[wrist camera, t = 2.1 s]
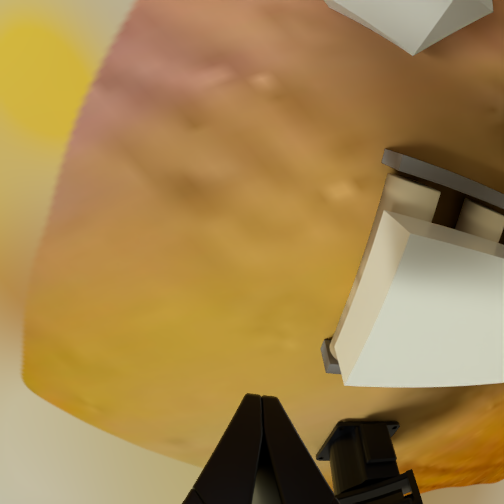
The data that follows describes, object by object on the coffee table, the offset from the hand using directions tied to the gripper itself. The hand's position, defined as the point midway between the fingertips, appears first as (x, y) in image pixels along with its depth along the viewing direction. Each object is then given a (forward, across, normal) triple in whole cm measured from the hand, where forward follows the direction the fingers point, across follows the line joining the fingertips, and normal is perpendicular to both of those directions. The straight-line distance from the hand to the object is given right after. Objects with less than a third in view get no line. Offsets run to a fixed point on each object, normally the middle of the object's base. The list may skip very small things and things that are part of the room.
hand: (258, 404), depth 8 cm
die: (+11, -3, -16) cm, 20 cm away
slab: (+8, -13, 0) cm, 15 cm away
